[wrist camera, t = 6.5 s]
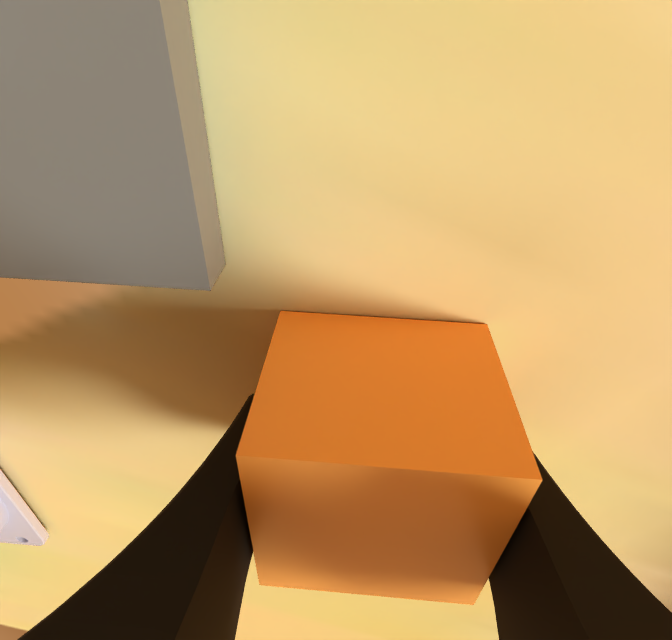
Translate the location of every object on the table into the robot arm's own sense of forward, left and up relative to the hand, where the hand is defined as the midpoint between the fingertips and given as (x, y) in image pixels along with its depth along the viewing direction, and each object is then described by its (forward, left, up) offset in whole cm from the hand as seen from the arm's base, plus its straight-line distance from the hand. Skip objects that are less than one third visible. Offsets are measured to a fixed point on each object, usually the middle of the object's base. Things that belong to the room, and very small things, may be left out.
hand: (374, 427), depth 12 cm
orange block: (0, 0, -1) cm, 1 cm away
